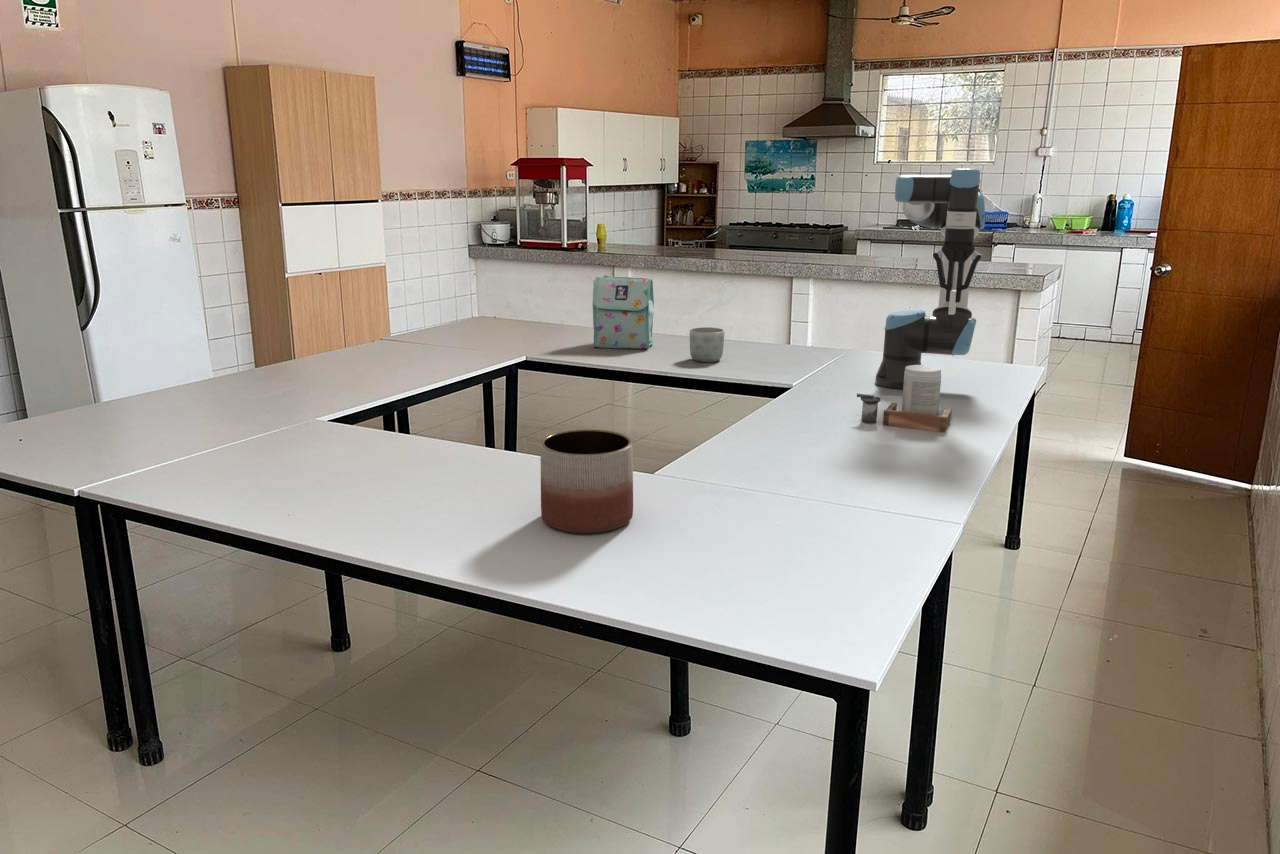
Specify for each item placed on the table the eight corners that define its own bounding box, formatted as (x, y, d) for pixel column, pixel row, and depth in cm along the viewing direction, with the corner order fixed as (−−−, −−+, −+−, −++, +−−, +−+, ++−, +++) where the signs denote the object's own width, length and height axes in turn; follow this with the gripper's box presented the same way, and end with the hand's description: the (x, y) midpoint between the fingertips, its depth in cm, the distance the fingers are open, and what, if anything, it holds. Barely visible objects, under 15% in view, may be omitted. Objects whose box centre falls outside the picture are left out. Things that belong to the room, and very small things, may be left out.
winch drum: (857, 417, 251) (859, 391, 249) (880, 420, 249) (882, 394, 247) (853, 422, 247) (855, 395, 245) (876, 425, 244) (879, 398, 242)
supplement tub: (944, 422, 248) (950, 369, 244) (921, 427, 242) (926, 373, 238) (915, 414, 255) (920, 362, 251) (893, 419, 250) (897, 366, 246)
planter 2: (700, 355, 335) (701, 325, 332) (730, 359, 328) (731, 329, 325) (682, 360, 325) (682, 330, 322) (711, 365, 318) (712, 334, 315)
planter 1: (558, 542, 166) (556, 460, 162) (529, 510, 182) (527, 434, 178) (647, 528, 173) (648, 448, 169) (612, 498, 189) (612, 425, 184)
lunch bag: (589, 349, 346) (589, 277, 338) (598, 341, 361) (598, 272, 354) (649, 351, 342) (650, 279, 335) (656, 343, 358) (656, 274, 350)
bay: (890, 414, 255) (891, 400, 254) (950, 421, 248) (951, 407, 247) (882, 425, 244) (883, 410, 243) (945, 432, 238) (946, 417, 237)
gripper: (933, 227, 248) (925, 314, 255) (983, 229, 242) (974, 317, 249) (937, 225, 254) (930, 310, 261) (987, 227, 249) (978, 313, 255)
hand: (951, 313), depth 255 cm, fingers closed
